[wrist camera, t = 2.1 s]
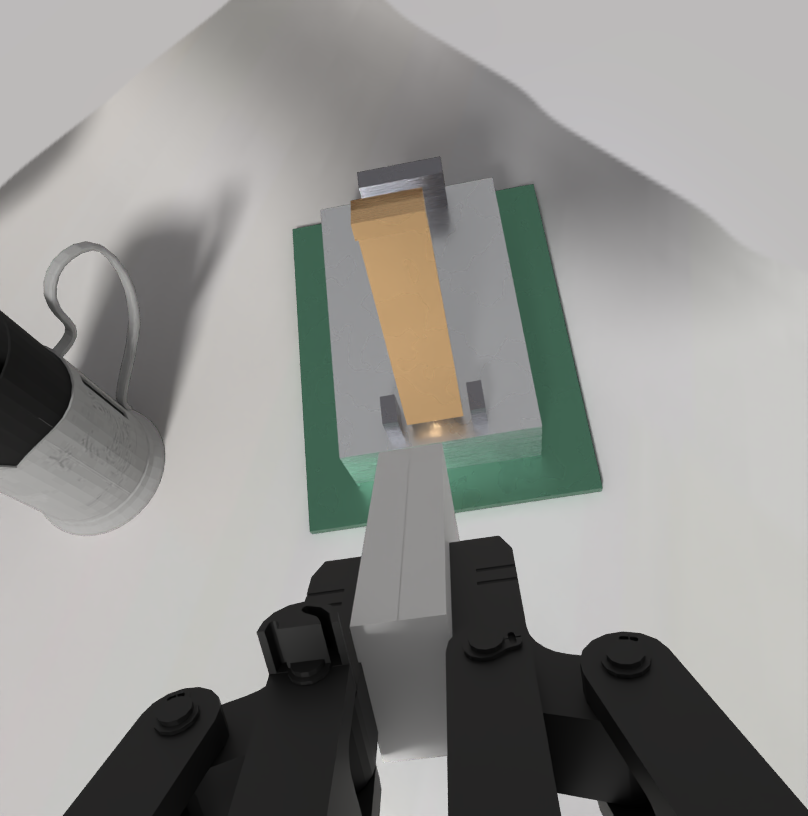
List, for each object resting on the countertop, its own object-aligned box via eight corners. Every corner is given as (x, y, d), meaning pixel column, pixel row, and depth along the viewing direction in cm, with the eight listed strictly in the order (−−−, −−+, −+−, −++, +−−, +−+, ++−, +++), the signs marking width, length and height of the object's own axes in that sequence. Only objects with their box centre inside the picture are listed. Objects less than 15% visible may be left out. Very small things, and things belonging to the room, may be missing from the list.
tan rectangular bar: (462, 404, 41) (466, 437, 40) (407, 413, 42) (409, 446, 40) (421, 179, 32) (424, 210, 30) (350, 193, 32) (350, 224, 30)
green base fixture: (601, 491, 44) (615, 440, 36) (312, 534, 45) (270, 493, 38) (533, 189, 53) (533, 101, 45) (294, 234, 54) (258, 155, 47)
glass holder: (9, 490, 49) (-188, 394, 36) (150, 324, 53) (19, 179, 40) (101, 562, 46) (-76, 486, 33) (243, 380, 50) (137, 245, 37)
